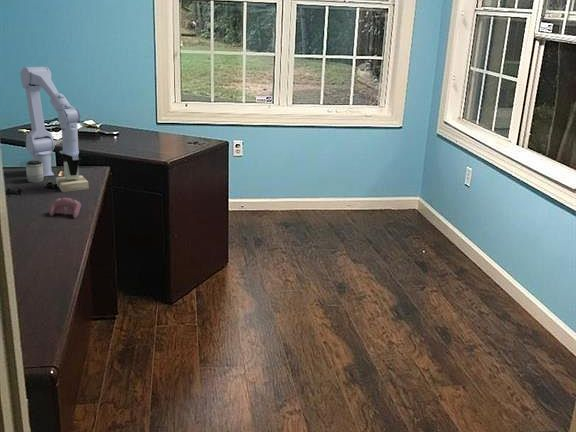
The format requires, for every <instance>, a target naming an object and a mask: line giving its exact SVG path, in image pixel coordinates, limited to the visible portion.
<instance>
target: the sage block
mask: <svg viewBox="0 0 576 432" xmlns="http://www.w3.org/2000/svg"><path fill="white" fill-rule="evenodd" d="M79 168H80V166H79V165H78V170H77V174H76V175H72V176H71V175H70V171H69V166H68V163H67V162H64V161H63V173H64V176H63V177H65V178H66V179H67V180H69V179H79V175H80V172H79V171H80V169H79Z"/></svg>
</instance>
